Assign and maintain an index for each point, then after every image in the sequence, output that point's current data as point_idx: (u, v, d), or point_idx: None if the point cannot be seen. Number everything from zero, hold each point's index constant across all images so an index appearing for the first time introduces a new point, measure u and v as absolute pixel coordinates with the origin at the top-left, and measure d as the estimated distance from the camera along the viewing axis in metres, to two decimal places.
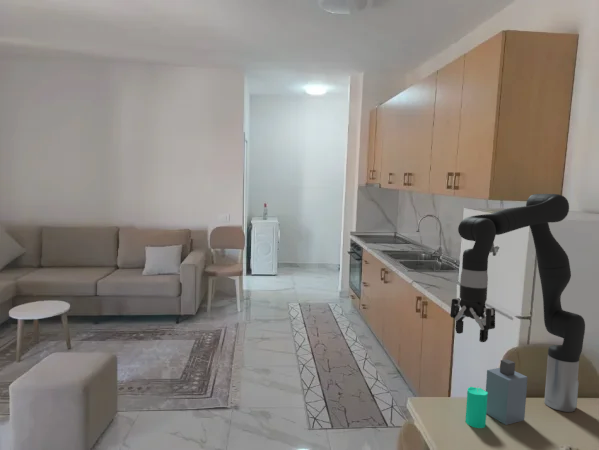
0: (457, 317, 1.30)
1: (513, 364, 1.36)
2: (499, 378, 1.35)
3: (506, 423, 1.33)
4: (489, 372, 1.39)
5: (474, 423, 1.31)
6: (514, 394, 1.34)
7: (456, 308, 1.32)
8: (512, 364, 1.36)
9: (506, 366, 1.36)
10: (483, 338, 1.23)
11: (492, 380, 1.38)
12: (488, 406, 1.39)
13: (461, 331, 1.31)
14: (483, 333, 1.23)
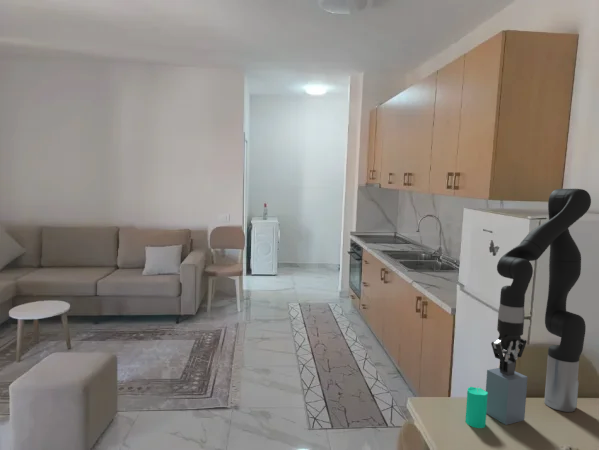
0: (506, 357, 1.35)
1: (513, 364, 1.36)
2: (499, 378, 1.35)
3: (506, 423, 1.33)
4: (489, 372, 1.39)
5: (474, 423, 1.31)
6: (514, 394, 1.34)
7: None
8: (512, 364, 1.36)
9: None
10: None
11: (493, 380, 1.38)
12: (488, 406, 1.39)
13: None
14: None
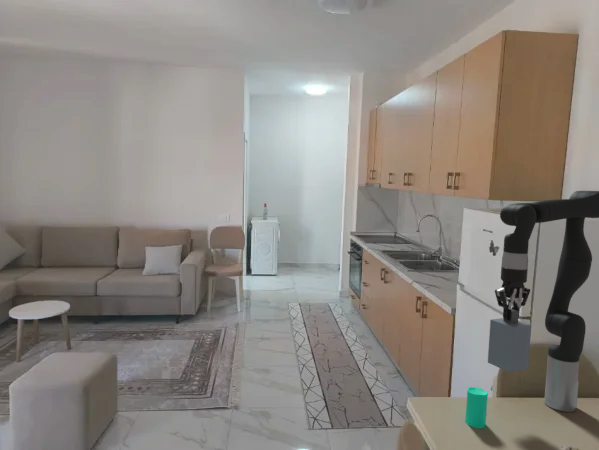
0: (510, 305, 1.34)
1: (517, 312, 1.35)
2: (503, 326, 1.34)
3: (510, 371, 1.32)
4: (492, 321, 1.38)
5: (474, 423, 1.31)
6: (518, 341, 1.32)
7: None
8: (516, 312, 1.35)
9: None
10: None
11: (496, 329, 1.36)
12: (491, 356, 1.38)
13: None
14: None
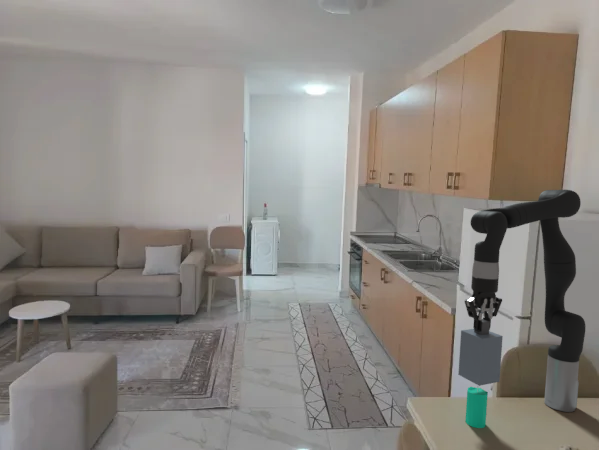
0: (480, 315, 1.29)
1: (488, 323, 1.30)
2: (473, 337, 1.29)
3: (480, 384, 1.27)
4: (463, 332, 1.33)
5: (474, 423, 1.31)
6: (488, 354, 1.28)
7: None
8: (486, 323, 1.30)
9: None
10: (489, 326, 1.32)
11: (466, 340, 1.32)
12: (462, 368, 1.33)
13: None
14: None
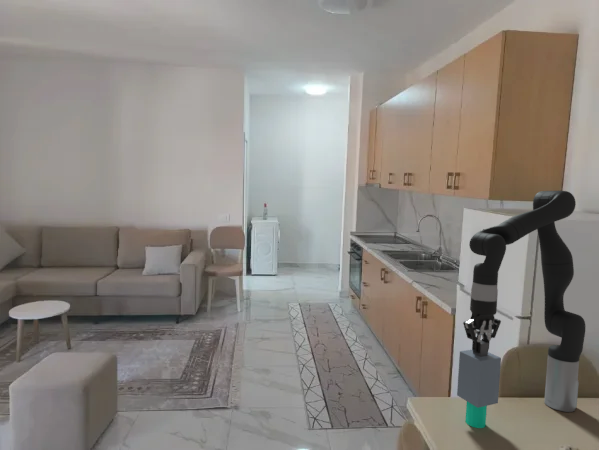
0: (479, 337, 1.30)
1: (486, 345, 1.31)
2: (471, 359, 1.30)
3: (478, 406, 1.28)
4: (462, 353, 1.33)
5: (474, 423, 1.31)
6: (487, 375, 1.28)
7: None
8: (485, 345, 1.31)
9: None
10: (488, 347, 1.32)
11: (465, 362, 1.32)
12: (461, 389, 1.34)
13: None
14: (488, 343, 1.32)
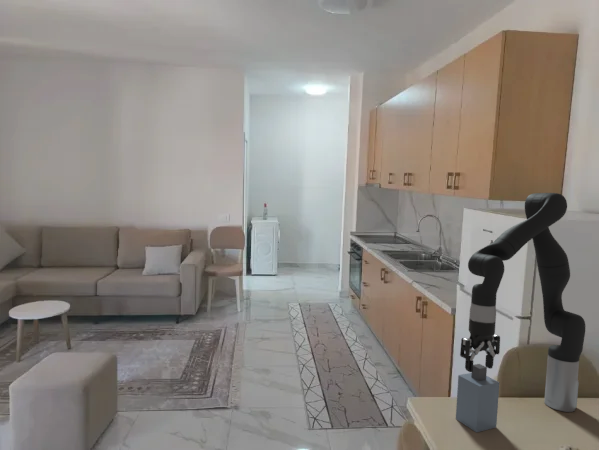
0: (472, 356, 1.29)
1: (485, 369, 1.31)
2: (470, 384, 1.30)
3: (477, 430, 1.28)
4: (460, 377, 1.34)
5: None
6: (485, 400, 1.29)
7: None
8: (483, 369, 1.31)
9: (477, 371, 1.31)
10: None
11: (464, 386, 1.33)
12: (459, 412, 1.34)
13: None
14: (492, 359, 1.33)
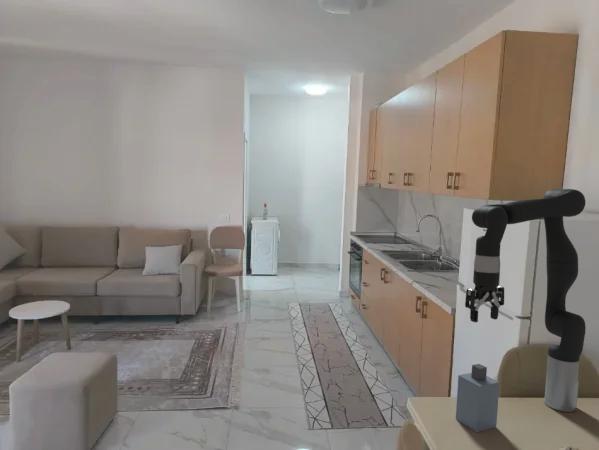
0: (477, 306, 1.31)
1: (485, 369, 1.31)
2: (470, 384, 1.30)
3: (477, 430, 1.28)
4: (460, 377, 1.34)
5: None
6: (485, 400, 1.29)
7: None
8: (483, 369, 1.31)
9: (477, 371, 1.31)
10: None
11: (464, 386, 1.33)
12: (459, 412, 1.34)
13: None
14: (497, 310, 1.35)
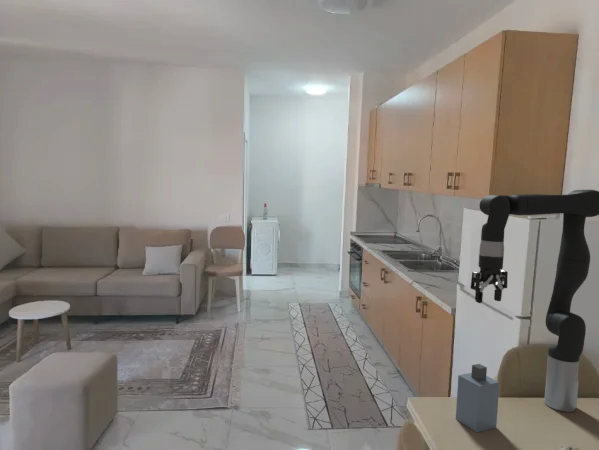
0: (482, 288, 1.40)
1: (485, 369, 1.31)
2: (470, 384, 1.30)
3: (477, 430, 1.28)
4: (460, 377, 1.34)
5: None
6: (485, 400, 1.29)
7: None
8: (483, 369, 1.31)
9: (477, 371, 1.31)
10: (500, 297, 1.45)
11: (464, 386, 1.33)
12: (459, 412, 1.34)
13: None
14: (500, 293, 1.45)
